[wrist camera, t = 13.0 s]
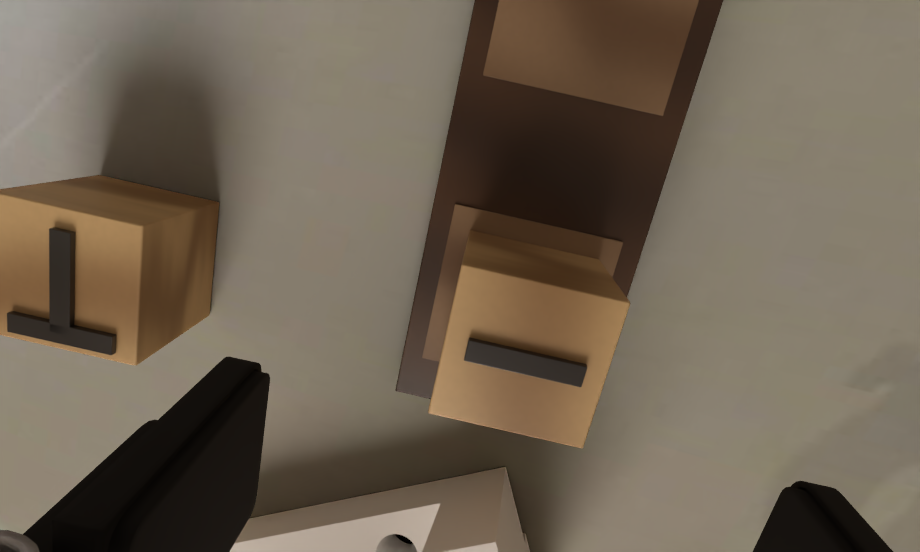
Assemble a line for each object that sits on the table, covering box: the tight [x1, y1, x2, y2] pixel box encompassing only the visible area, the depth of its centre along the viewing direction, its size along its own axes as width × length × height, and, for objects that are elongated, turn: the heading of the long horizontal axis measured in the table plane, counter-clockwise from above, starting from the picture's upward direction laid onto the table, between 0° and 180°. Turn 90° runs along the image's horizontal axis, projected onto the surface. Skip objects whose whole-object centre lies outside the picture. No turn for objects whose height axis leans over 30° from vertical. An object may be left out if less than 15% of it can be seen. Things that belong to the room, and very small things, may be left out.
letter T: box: [0, 175, 219, 365], centre depth 20 cm, size 5×5×5 cm
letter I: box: [428, 230, 630, 448], centre depth 19 cm, size 5×5×5 cm
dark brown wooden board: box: [396, 0, 723, 399], centre depth 20 cm, size 21×8×1 cm, turn 168°
